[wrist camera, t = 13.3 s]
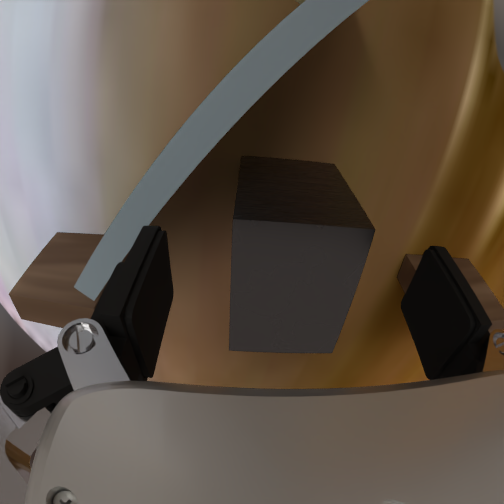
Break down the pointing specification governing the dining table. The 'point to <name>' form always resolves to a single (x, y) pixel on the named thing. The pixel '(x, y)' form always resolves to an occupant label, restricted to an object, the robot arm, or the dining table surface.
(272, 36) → the grey curved plank
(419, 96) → the dining table surface
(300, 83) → the dining table surface
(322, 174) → the dark grey block
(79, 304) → the pair of brown blocks
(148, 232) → the robot arm
